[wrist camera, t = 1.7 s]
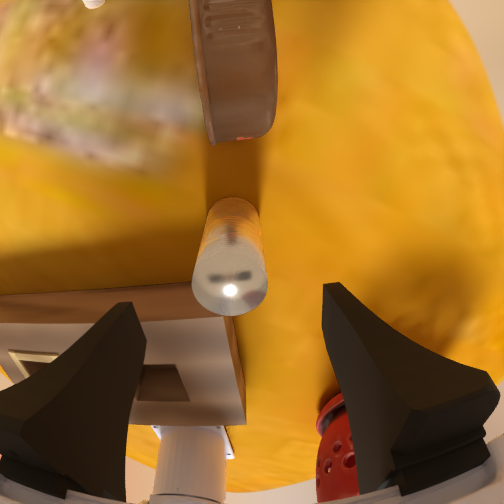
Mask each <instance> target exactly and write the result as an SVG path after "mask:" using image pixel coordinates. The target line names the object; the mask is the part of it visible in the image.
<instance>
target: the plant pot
mask: <svg viewBox="0 0 504 504" xmlns="http://www.w3.org/2000/svg"><path fill="white" fill-rule="evenodd" d="M316 429H317V431H318V433H319V435H320V436H321V437H322V439H321V442H320V446H319V450H318V455H317V463H316V491H317V501H318V503H323V502H328V501H334V500H339V499H344V498H349V497H354V496H358V495H359V486H358V477H357V469H356V461H355V455H354V448H353V442H352V436H351V431H350V425H349V420H348V416H347V411H346V406H345V402H344V399H343V395H342V392H341V393H339V394H338V395H336V396H335V397H334V398H332V399H331V400H330V401H329V402H328V403H327V404H326V405H325V406H324V407H323V409H322V410H321V412H320V413H319V415H318V418H317V421H316ZM328 469H329V471H330V472H328Z"/></svg>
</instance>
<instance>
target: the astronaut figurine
mask: <svg viewBox="0 0 504 504" xmlns="http://www.w3.org/2000/svg"><path fill="white" fill-rule="evenodd" d="M82 1H83V2H84V5H85V6H86V7H87V8H89V9H95V8H98V7H100V6H101V5H103V4H104V3H105V1H106V0H82Z"/></svg>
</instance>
